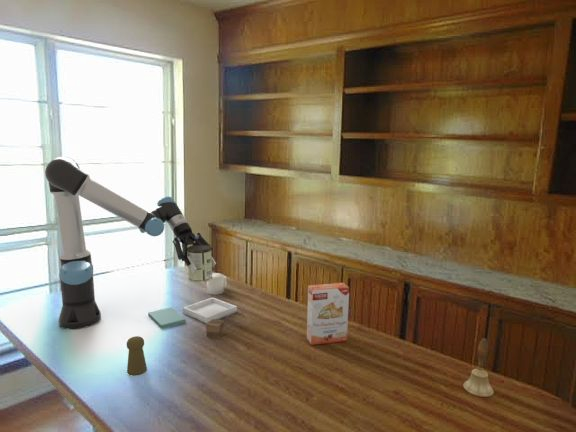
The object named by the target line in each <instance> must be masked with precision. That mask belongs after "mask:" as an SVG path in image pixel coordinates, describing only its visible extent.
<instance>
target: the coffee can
mask: <svg viewBox="0 0 576 432" xmlns="http://www.w3.org/2000/svg"><path fill="white" fill-rule="evenodd" d="M209 245H210V244H209ZM209 245H190V246H189V245H188V246H187V257H189V256H190V258H191V260H192V261H193V263H194V265H195V266H196V268H197V269H196V271H195V272H194V273H193V272H192V271H191V269H190V267H189V266H187V268H188V269H187V270H188V273H187V274H188V281H189V282H190V283H198V284H199V283H207V281H210V280H212V273H213V267H212V255H213V253H212V250H213V249H212V248H213V247H212V246H211V245H210V246H209ZM211 249H212V250H211Z"/></svg>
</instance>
